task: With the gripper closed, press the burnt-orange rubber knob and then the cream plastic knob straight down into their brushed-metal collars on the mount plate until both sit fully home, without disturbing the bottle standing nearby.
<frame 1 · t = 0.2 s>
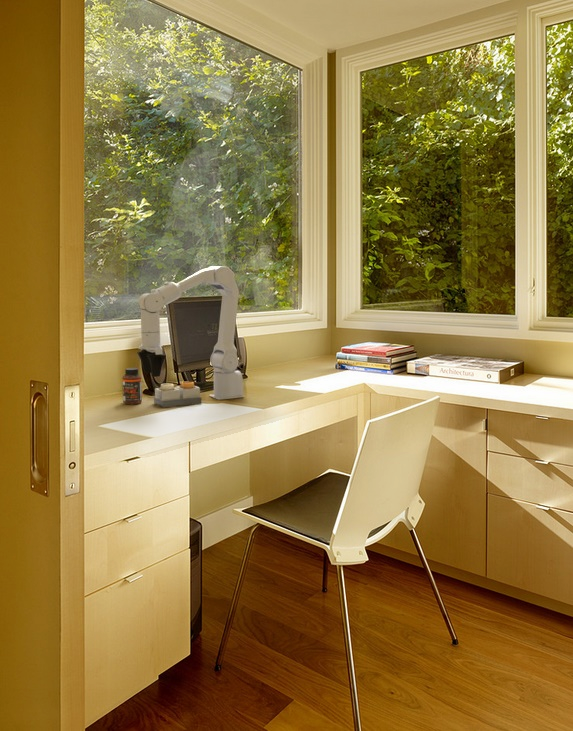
hand: (152, 374, 197), 10 cm above the table, fingers open, 7 cm apart
orange knob: (187, 385, 202), point 6 cm above the table, slide at 0.0 cm
knob mount: (177, 403, 201), on the table
supplement bottle: (132, 403, 201), on the table
cream knob: (167, 387, 199), point 6 cm above the table, slide at 0.0 cm
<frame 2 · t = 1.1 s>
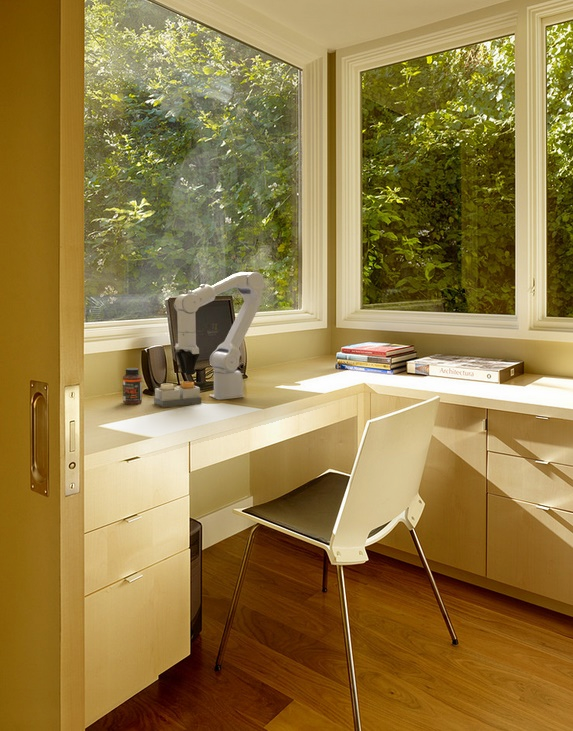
hand: (187, 373, 202), 9 cm above the table, fingers open, 3 cm apart
nothing on the table moved.
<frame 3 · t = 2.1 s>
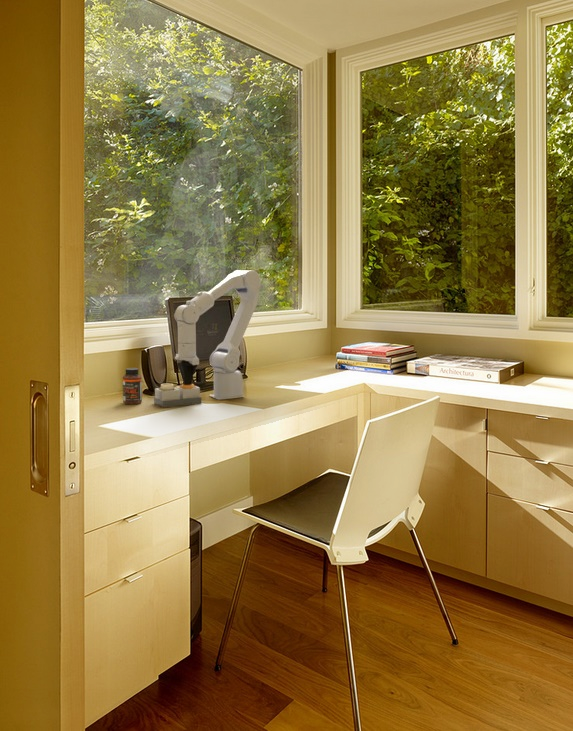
hand: (187, 384, 202), 6 cm above the table, fingers closed, pressing on orange knob
orange knob: (187, 387, 202), point 5 cm above the table, slide at 0.7 cm, touching gripper
everything else where it was.
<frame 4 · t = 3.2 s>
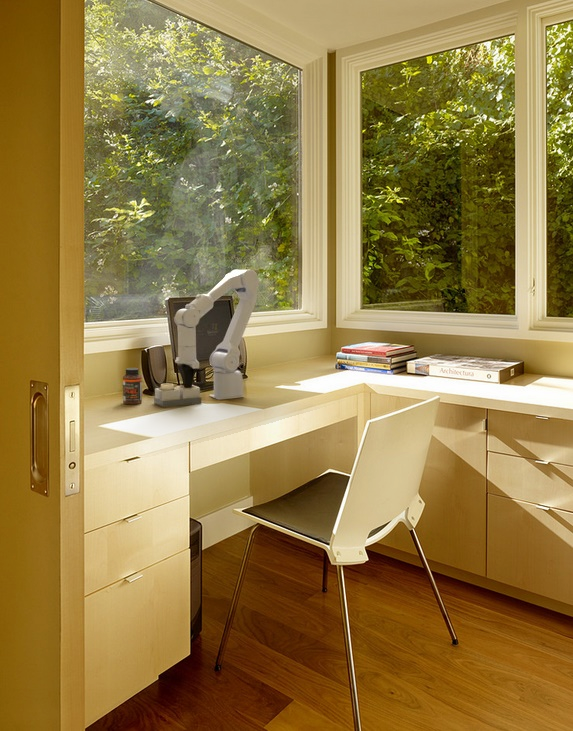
hand: (187, 387, 202), 5 cm above the table, fingers closed
orange knob: (187, 392, 203), point 3 cm above the table, slide at 2.5 cm, touching knob mount
everything else where it was.
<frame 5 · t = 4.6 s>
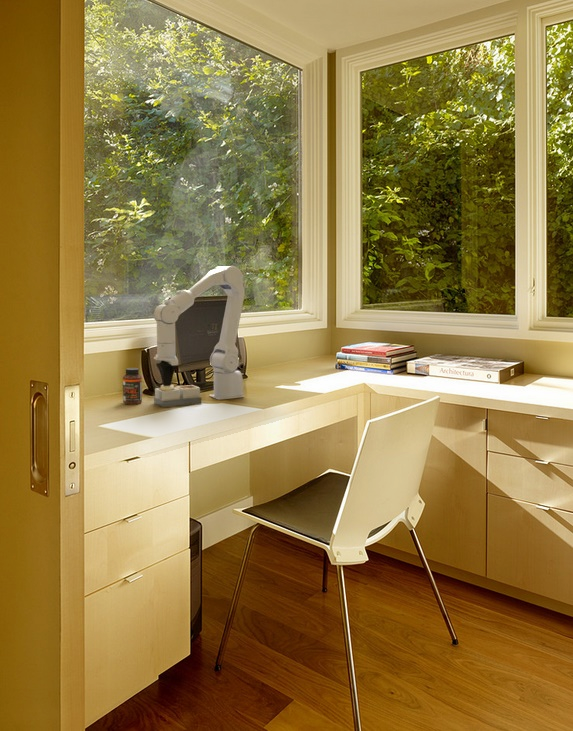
hand: (167, 385, 198), 6 cm above the table, fingers closed, pressing on cream knob
cream knob: (167, 388, 199), point 5 cm above the table, slide at 0.4 cm, touching gripper
everything else where it was.
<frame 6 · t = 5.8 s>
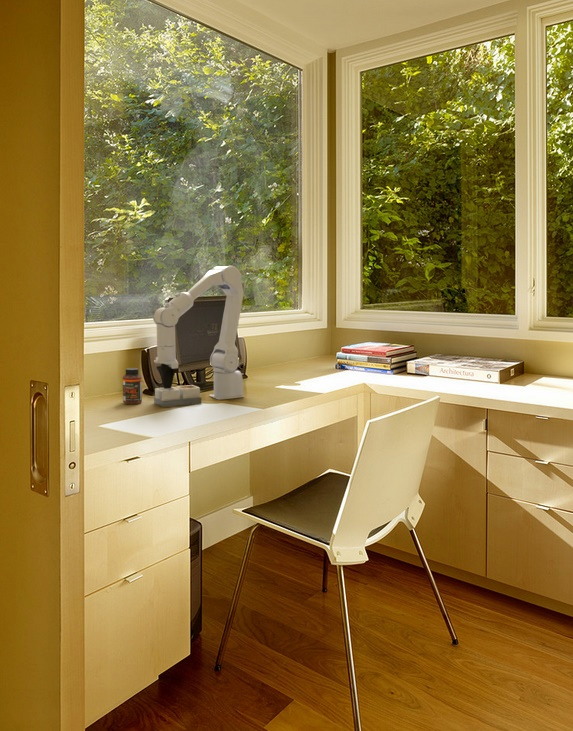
hand: (167, 388, 199), 5 cm above the table, fingers closed
cream knob: (167, 394, 199), point 3 cm above the table, slide at 2.5 cm, touching knob mount
everything else where it was.
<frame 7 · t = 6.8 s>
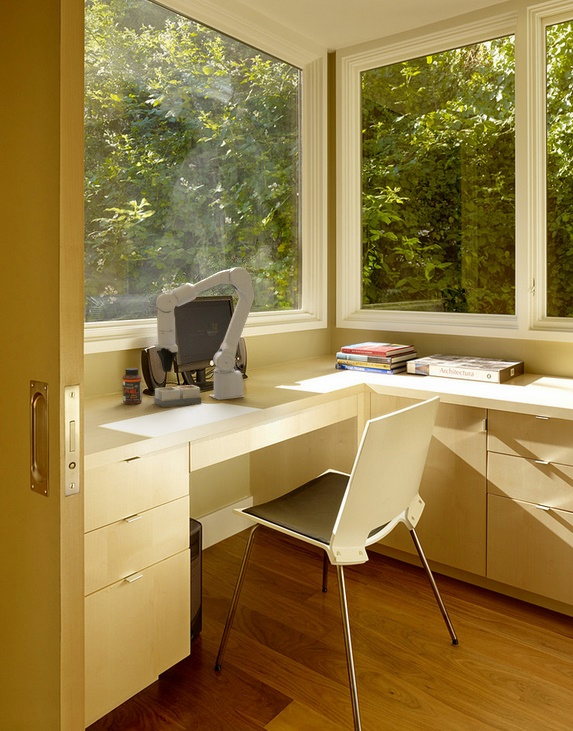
hand: (167, 371, 206), 9 cm above the table, fingers closed
nothing on the table moved.
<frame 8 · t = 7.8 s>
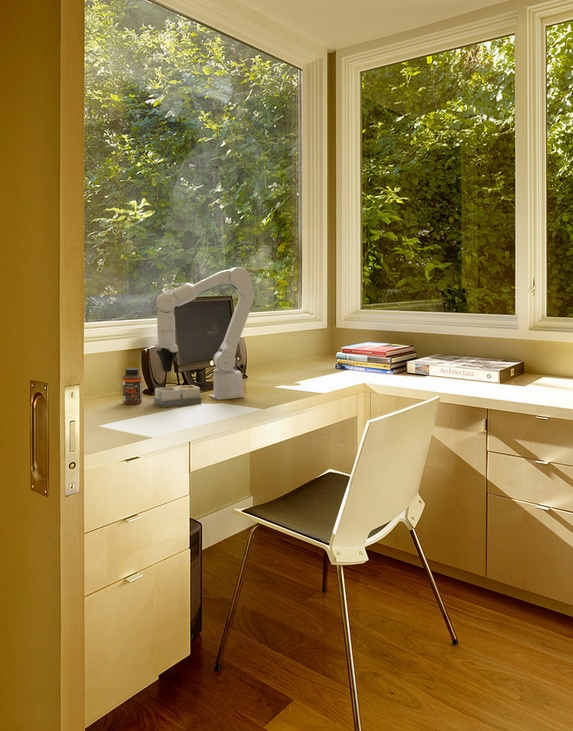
hand: (167, 371, 206), 9 cm above the table, fingers closed
nothing on the table moved.
at the end: orange knob slide at 2.5 cm; cream knob slide at 2.5 cm; supplement bottle moved 0.2 cm from its start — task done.
